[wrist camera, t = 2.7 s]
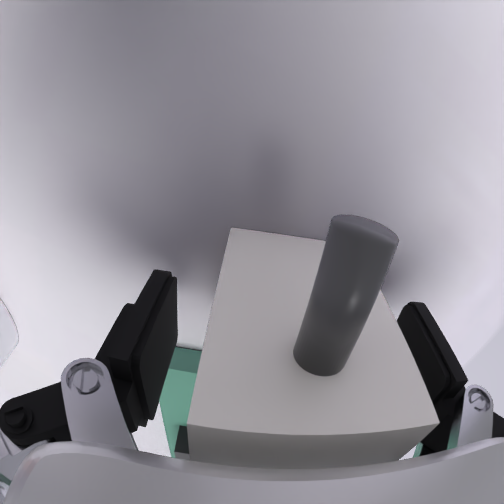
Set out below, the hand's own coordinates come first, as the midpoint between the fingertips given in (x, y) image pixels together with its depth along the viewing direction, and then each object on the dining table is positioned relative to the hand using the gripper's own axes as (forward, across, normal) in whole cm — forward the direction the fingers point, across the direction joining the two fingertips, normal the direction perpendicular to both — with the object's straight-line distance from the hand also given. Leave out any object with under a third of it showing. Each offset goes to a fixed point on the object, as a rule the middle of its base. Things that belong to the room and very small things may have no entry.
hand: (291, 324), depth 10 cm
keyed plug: (+3, 0, 0) cm, 3 cm away
